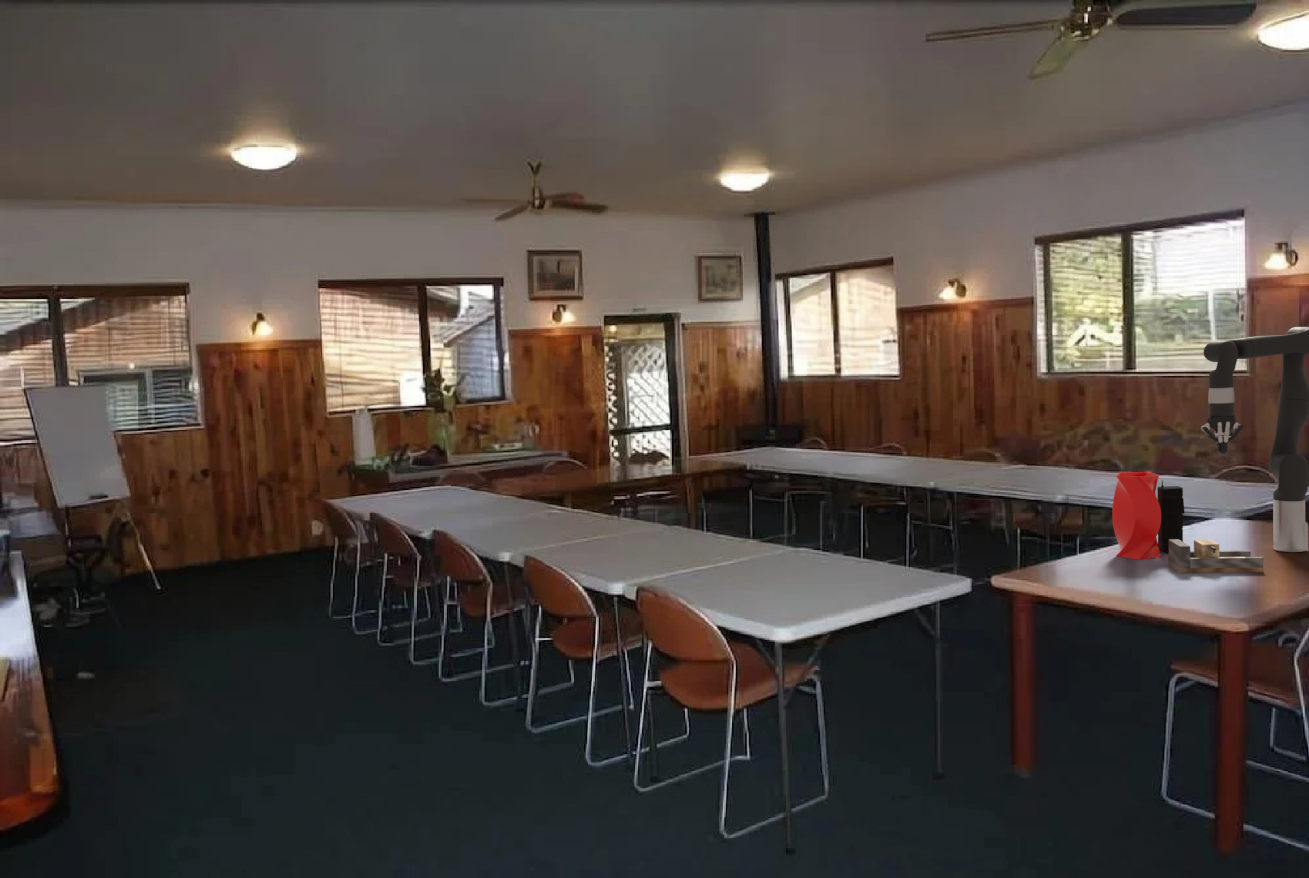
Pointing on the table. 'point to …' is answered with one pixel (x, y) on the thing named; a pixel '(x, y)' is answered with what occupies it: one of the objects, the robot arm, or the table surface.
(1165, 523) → the portable radio
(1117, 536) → the vase
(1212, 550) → the block
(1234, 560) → the grey piece
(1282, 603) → the table surface
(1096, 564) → the table surface
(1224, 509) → the table surface
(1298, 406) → the robot arm
